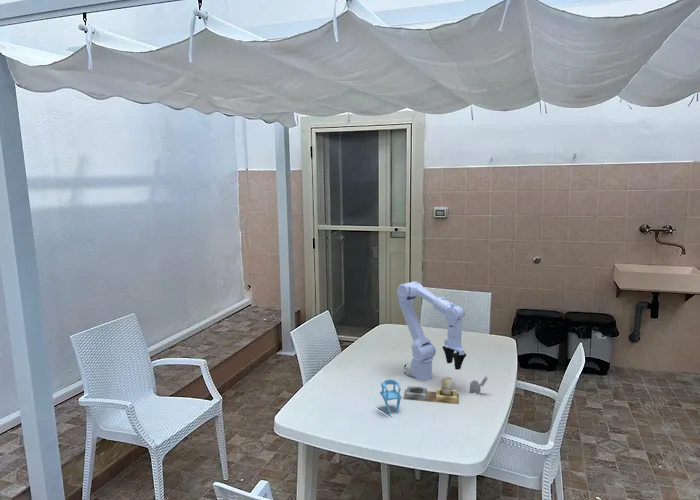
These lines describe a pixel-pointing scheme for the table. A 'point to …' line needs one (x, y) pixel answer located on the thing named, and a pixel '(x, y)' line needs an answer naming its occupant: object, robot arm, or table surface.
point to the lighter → (477, 385)
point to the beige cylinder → (446, 386)
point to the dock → (430, 395)
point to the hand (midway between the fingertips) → (453, 366)
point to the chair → (390, 394)
